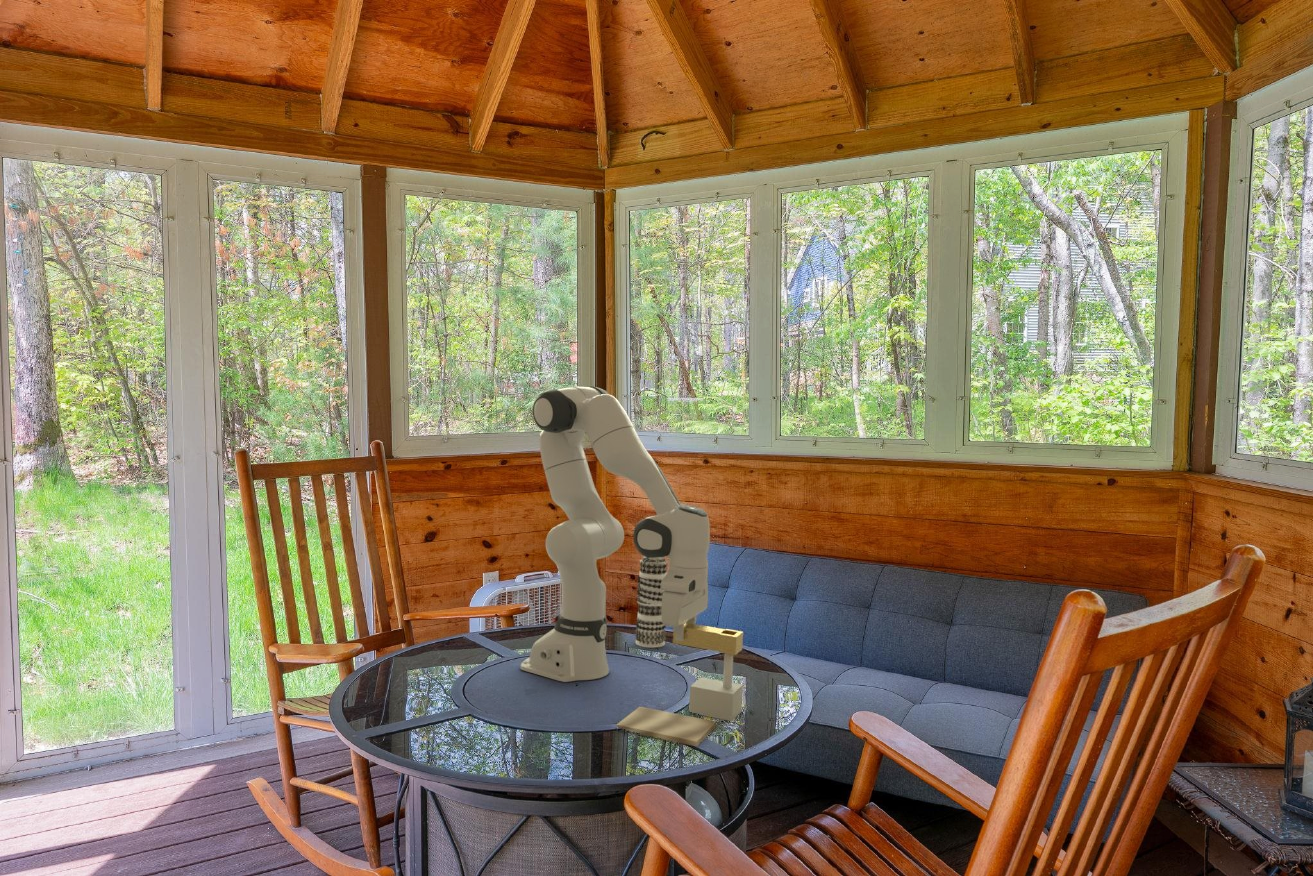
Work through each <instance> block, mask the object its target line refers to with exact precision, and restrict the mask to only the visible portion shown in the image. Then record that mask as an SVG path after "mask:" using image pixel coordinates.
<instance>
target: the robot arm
mask: <svg viewBox="0 0 1313 876" xmlns="http://www.w3.org/2000/svg"><path fill="white" fill-rule="evenodd" d="M532 418H533V419H534V422H535V425H536V426H537V427H538V428H539V429H540V430H542V431H541V432H540V433H539V439H538V440H539V450H540V451H539V452H540V457H541V462H542V468H543V471H544V474H545V478H546V483H547V486H548V489H549V492H550V497H551V500H552V501H553V503H554V504H555V505H557V506H558V507H560V509H562V511H563V512H564V513H565V515H566V517H567V518H568V520H566V521H563V522H561V523H559V524H557V525H556V526H553V527H552V528H551V529H550V530H549V532H547V535H546V538H545V549H546V552H547V555H548V557H549V559H550V560H551V561H553V562H554V564H555V565H556V567H557V571H558V573H559V578H560V584H561V609H560V610H561V611H560V614H558V615H556V616H555V617H554V618H551V622H550V623H551V624H554V628H553V629H551V630H549V631H548V632H546V633H545V634H544V635H542V636H541V637H540V638H538V639H537V640H536V641H535V642H534V643H533V644H532V646H531V651H530V654H529V655H530V656H529V657H528V658H526V659H524V660H523V661H522V662H521V663H520V667H519V668H520V670H521V671H524V672H528V673H532V674H535V675H539V676H542V677H545V678H549V679H552V680H555V681H559V682H562V683H568V682H569V683H570V682H575V681H589V680H596V679H600V678H604V677H606V676H607V675H608V674H609V673H610V667H609V665H608V658H607V653H606V652H607V651H606V650H607V649H606V638H607V630H608V628H607V626H608V625H607V623H608V621H607V615H606V602H607V601H606V600H607V586H606V583H605V582H604V581H603V580H602V579H601V577H600V575H599V572H598V571H599V570H598V566H597V561H598V560H601V559H604V558H608V557H609V556H610V555H612V554H614V553H616V551H618V550H619V549H620V548H621V547H622V545H623V543H624V540H625V530H624V528H623V525H622V524H621V522H620V521H619V520H618V519H617V518H616V517H614V516H613V515H612V514H611V513H610V512H609V510H608V509H607V507H606V506H605V504H604V503H603V500H602V499H601V497H600V495H599V493H598V491H597V489H596V486H595V483H594V481H593V477H592V473H591V471H590V467H589V464H588V463H589V462H588V459H587V456H586V453H585V450H584V446H583V438H584V436H585V434H586V435H587V437H588V440H589V443H590V445H591V447H592V450H593V451H594V454H595V456H596V458H597V460H598V461H599V463H600V464H601V466H602V467H603V468H604V470H606V471H607V472H609V473H611V474H613V475H615V476H618V477H622V478H624V479H627V480H629V481H631V482H633V483H634V484H636V485H637V486H638V487H640V488H641V489H642V491H643V492H644V494H645V495H646V497H647V499H648V500H649V501H648V502H650V504H651V506H652V507H653V510H654V511H655V513H656V515H651V516H648V517H645V518H642V519H640V520H639V521H638V522H637V524H636V525H635V526H634V529H633V534H632V536H633V537H632V539H633V544H634V546H635V549H636V551H638V552H639V554H640V555H641V556H643V557H644V556H645V557H649V558H659V557H664V558H667V559H668V569H667V574H666V576H665V577H664V578H663V580H662V581H661V590H665V591H664V592H663V595H662V608H661V618H662V623H663V625H664V626H666V627H669V628H673V630H675V633H676V634H675V640H676V641H680V642H681V641H683V640H684V639H685V632H684V626H685V623H691V624H696V623H697V622H696V621H697V619H698V618H697V616H698V615H699V614H701V613H703V612H704V611H706V610H707V608H708V603H709V584H708V573H709V561H708V552H709V548H710V543H711V542H710V540H711V537H710V536H711V529H710V527H711V526H710V518H709V515H708V513H707V512H706V510H704V509H703V508H701V507H700V506H695V505H692V504H691V505H690V504H682V503H681V502H680V500H679V499H678V497H677V495H676V494H675V491H674V490H673V488H672V487H671V484H670V483H669V481H668V479H667V478H666V476H665V474H664V473H663V471H662V469H661V468H660V466H659V465H658V463H657V462H656V460H655V459H654V458H653V457H652V455H651V454H650V453H649V452H648V451H647V449H646V447H645V446H644V443H642V440H641V439H640V437H639V435H638V433H637V431H636V429H635V427H634V425H633V423H632V421H631V418H630V417H629V415H628V413H627V412H626V410H625V409H624V407H623V406H622V404H621V403H620V401H619V400H618V399H617V398H616V397H615V396H614V395H611V394H610V393H608V391H607V390H605V389H603V388H600V387H596V386H569V387H565V388H559V389H554V388H553V389H548V390H545V391H543V392H541V393H539V394H538V395H537V396H536V397H535V399H534V402H533V404H532Z"/></svg>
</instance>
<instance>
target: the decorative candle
mask: <svg viewBox="0 0 1313 876" xmlns="http://www.w3.org/2000/svg"><path fill="white" fill-rule="evenodd" d="M639 562H640V565H639V566H640V568H639V569H640V570H639V574H638V575H637V576H638V577H636V582H637V585H636V588H637V589H636V594H637V595H638V596H637V597H636V600H637V601H636V602H637V604H638V611H637V617H636V623H635V627H636V629H635V645H637V646H639V647H643V648H661V647H663V646H665V643H666V642H665V640H666V634H667V631H666V630H665V629H666V628H667V626H664V625H663V623H662V618H661V608H662V595H663V592H664V591H665V590H661V581H662V580H663V578H664V577H665V576H666V574H667V572H668V567H667V566H668V564H669V560H666V557H659V558H649V557H645V556H643V557H642V559H640V560H639Z"/></svg>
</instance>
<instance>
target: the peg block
mask: <svg viewBox="0 0 1313 876" xmlns="http://www.w3.org/2000/svg"><path fill="white" fill-rule="evenodd" d="M723 654H724V655H723V657H724V658H723V676H722V677H723V678H722V680H718V679H714V678H708V677H700V678H698V679H697V680H696V681H695V682H693V683H692V684H691V685H690V686H689V700H688V701H689V702H688V703H689V705H688V706H689V707H688V708H689V709H688V712H689V711H690V712H692V713H691V714H693V713H698V714H700V715H699V716H703V715H704V717H710V718H715V719H719V720H722V721H723V720H724V721H729V722H732V721H734V719H735V718H737V716H738V715H739V714H740V713H741V712H742V706H743V705H742V703H743V686H744V685H743V684H740V683H735V682H733V674H734V673H733V668H734V655H732V654H726V653H723ZM698 714H697V715H698Z"/></svg>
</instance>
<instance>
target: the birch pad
mask: <svg viewBox="0 0 1313 876" xmlns="http://www.w3.org/2000/svg"><path fill="white" fill-rule="evenodd" d="M615 727H618V728H622V729H626V730H629V731H634V732H637V733H641V734H643V735H642V736H646V735H647V736H646V737H650V736H653V737H652V738H656V739H660V738H661V739H660V740H664V741H668V742H675V743H679V744H684V745H686V746H687V745H688V746H693V747H698V746H699V745H700V744H701V743H702V742H703V741H704V740H705V739H706V737H708V735H710V733H711V732H712V731H713V730H714V729H715V728H716V727H717V721H713V720H709V719H705V718H699V717H694V716H689V715H685V714H684V715H683V714H680V713H674V712H671V711H665V710H664V711H663V710H660V709H655V708H651V707H645V706H638V707H637V708H636V709H635V710H633V711H632V712H631V713H630V714H628V715H627V716H626V717H624V718H623V719H621V721H619V722H618V723H617V724H616V725H615ZM641 734H640V735H641ZM700 742H701V743H700ZM697 745H698V746H697Z"/></svg>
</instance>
